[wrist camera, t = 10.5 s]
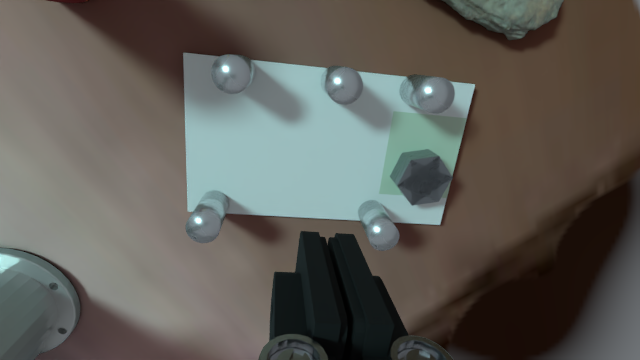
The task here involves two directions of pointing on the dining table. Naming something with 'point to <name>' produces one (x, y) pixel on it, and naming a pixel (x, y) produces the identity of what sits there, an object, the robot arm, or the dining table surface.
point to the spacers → (342, 89)
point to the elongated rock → (508, 14)
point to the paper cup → (69, 1)
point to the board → (310, 143)
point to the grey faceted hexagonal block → (421, 176)
